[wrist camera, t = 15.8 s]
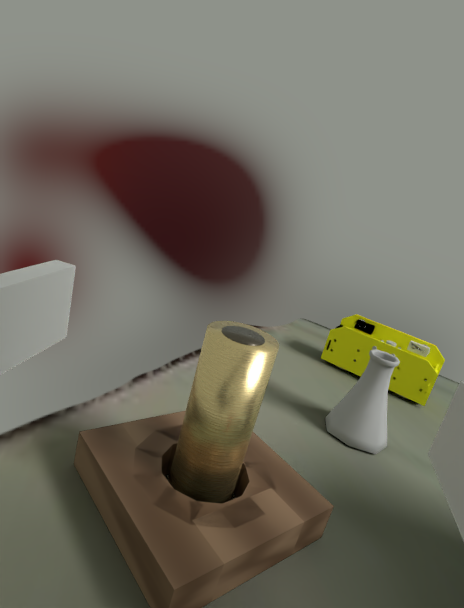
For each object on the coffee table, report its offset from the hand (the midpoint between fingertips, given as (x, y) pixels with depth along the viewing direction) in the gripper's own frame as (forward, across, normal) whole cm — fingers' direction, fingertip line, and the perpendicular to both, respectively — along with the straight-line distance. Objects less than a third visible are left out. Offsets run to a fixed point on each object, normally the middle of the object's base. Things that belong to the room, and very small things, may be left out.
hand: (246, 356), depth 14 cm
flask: (+32, +12, -19) cm, 39 cm away
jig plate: (+13, -2, -18) cm, 23 cm away
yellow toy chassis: (+50, +16, -20) cm, 56 cm away
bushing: (+13, -2, -19) cm, 23 cm away
